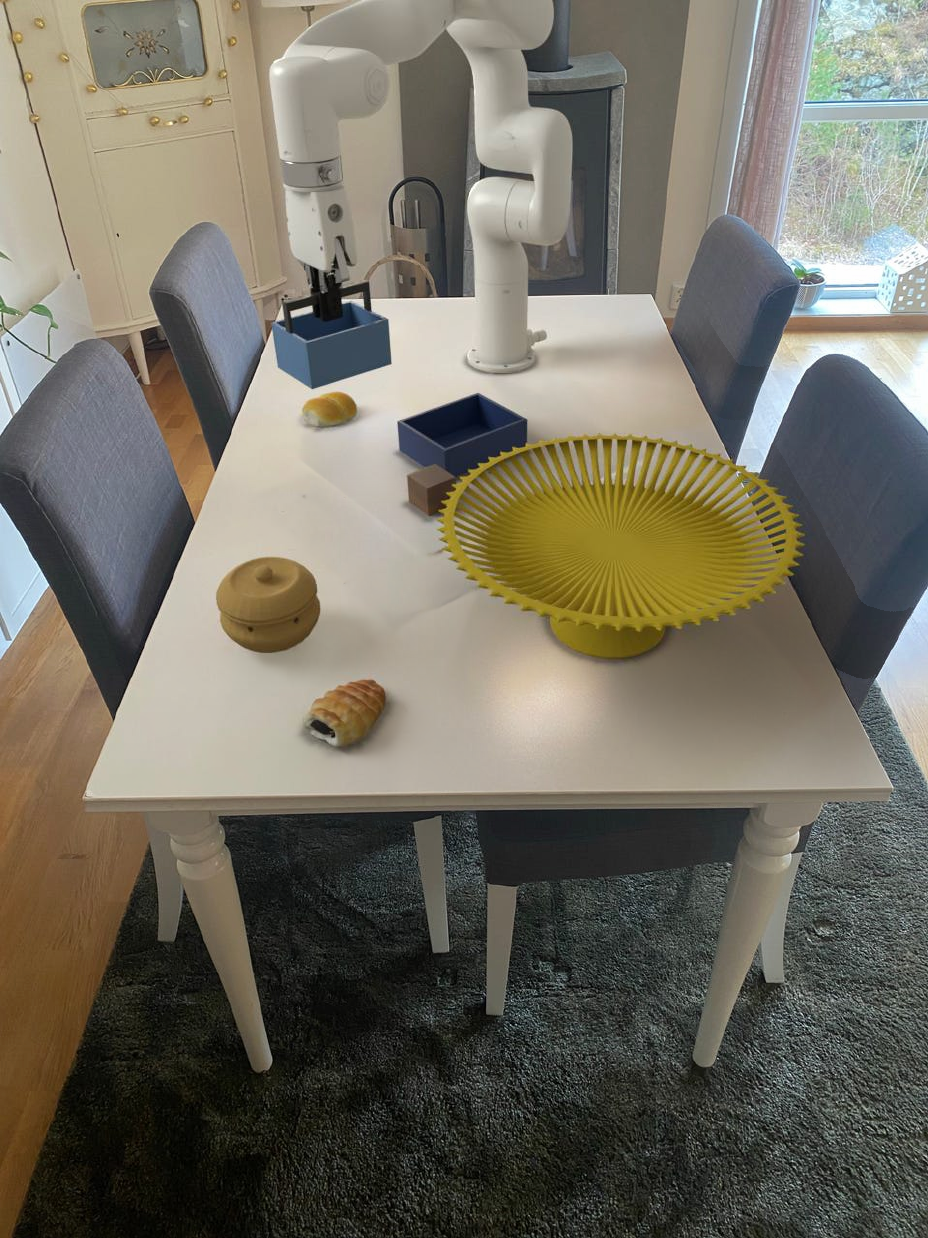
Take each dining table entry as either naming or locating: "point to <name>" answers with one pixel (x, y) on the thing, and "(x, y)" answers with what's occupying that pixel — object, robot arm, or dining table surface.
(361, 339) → the upper bin
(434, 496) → the block
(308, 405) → the bread roll
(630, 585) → the yellow fruit bowl
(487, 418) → the lower bin
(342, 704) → the pastry
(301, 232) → the robot arm
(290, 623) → the pot
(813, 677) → the dining table surface
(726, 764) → the dining table surface
